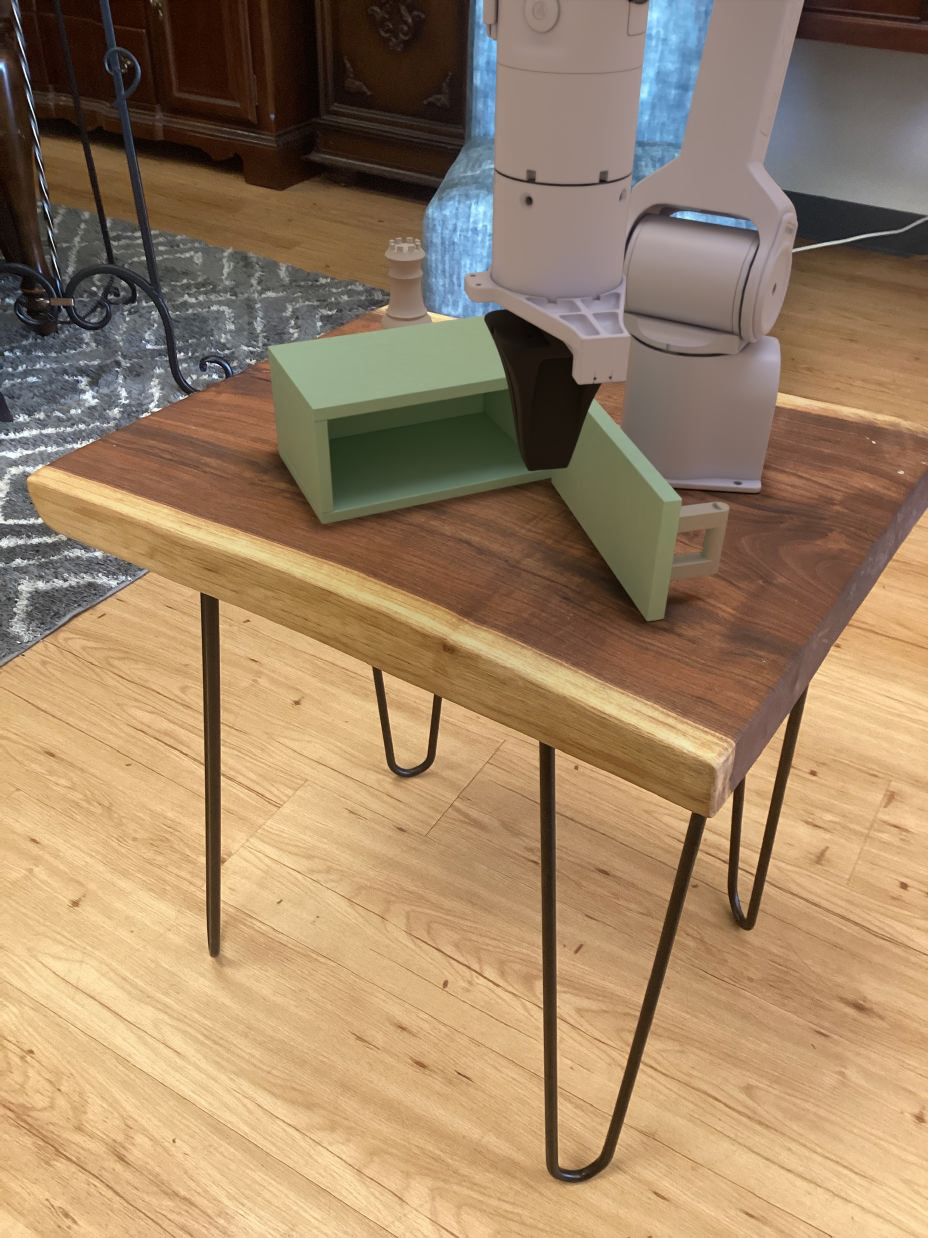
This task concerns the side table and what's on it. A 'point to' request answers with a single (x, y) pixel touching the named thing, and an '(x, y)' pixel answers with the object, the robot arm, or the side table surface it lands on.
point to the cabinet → (395, 417)
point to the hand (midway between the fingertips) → (544, 463)
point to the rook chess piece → (405, 285)
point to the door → (636, 514)
